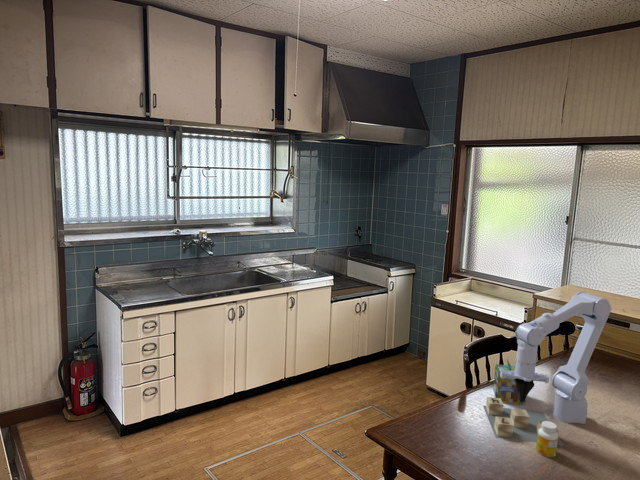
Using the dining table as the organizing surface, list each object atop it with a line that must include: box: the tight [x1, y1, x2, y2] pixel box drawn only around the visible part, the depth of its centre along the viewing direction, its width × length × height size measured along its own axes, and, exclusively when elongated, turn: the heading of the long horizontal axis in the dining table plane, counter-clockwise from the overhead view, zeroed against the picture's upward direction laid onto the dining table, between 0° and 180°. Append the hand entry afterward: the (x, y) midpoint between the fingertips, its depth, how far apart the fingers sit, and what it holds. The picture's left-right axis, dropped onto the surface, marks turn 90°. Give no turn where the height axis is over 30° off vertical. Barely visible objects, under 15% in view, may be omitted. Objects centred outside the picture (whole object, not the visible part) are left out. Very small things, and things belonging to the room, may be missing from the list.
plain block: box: [510, 408, 529, 428], centre depth 152 cm, size 4×4×4 cm
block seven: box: [494, 416, 514, 437], centre depth 147 cm, size 4×4×4 cm
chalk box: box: [492, 358, 525, 405], centre depth 170 cm, size 9×9×15 cm
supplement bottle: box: [535, 420, 559, 458], centre depth 137 cm, size 5×5×10 cm
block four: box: [485, 396, 505, 416], centre depth 159 cm, size 4×4×4 cm
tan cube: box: [537, 421, 559, 435], centre depth 145 cm, size 4×4×4 cm
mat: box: [482, 405, 565, 447], centre depth 152 cm, size 20×20×1 cm
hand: (521, 400), depth 151 cm, fingers closed
